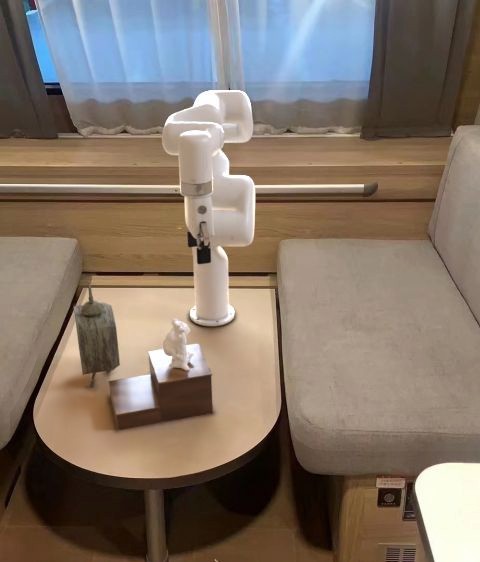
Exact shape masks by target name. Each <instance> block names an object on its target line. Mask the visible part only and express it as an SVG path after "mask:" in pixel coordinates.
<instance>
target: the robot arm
mask: <svg viewBox="0 0 480 562" xmlns="http://www.w3.org/2000/svg"><path fill="white" fill-rule="evenodd" d="M161 133H162V134H161V144H162V148H163V149H164V151H165V152H166V153H167V154H169V155H170V156H178V170H179V171H178V172H179V191H180V192H179V193H180V196H182V197H184V221H185V225H186V230H187V231H186V234H187V235H186V236H187V247H188V248H191V251H192V261H193V262H192V264H193V286H194V288H193V289H194V290H193V291H194V306H193V307H192V308H191V309H190V311H189V317H190V319H191V321H192V322H193V323H195V324H198V325H200V326H204V327H219V326H223V325H226V324H229V323H230V322H231V321H233V320H234V318H235V309H234V307H232V306H231V305H230V293H229V291H230V286H229V285H230V284H229V283H230V281H229V259H228V256H227V253H226V252H225V250H224V249H223V248H222V247H237V248H238V247H248V246H249V245H251V244H252V242H253V241H254V236H255V223H256V222H255V221H256V218H255V217H256V187H255V182H254V181H253V179H252V178H251V177H250V176H248V175H243V174H242V175H241V174H230V161H229V159H228V158H229V157H227V156H226V154H225V153H224V152H223V151H222V149H223V147H224V145H225V144H230V143H231V144H242V143H243V144H244V143H247V142H250V140H251V138H252V136H253V133H254V119H253V111H252V105H251V101H250V98H249V96H248V95H247V94H246V92H244V91H241V90H208V91H204V92H202V93H200V94H199V95H198V96H197V98H196V99H195V101H194V104H193V105H192V106H190V107H188V108H185V109H183V110H180V111H177V112H175V113H173V114H171V115H170V116H168V118H167V120H166V121H165V124H164V126H163V129H162V132H161Z"/></svg>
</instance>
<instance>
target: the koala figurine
mask: <svg viewBox="0 0 480 562" xmlns="http://www.w3.org/2000/svg"><path fill="white" fill-rule="evenodd" d="M171 326H172V327H171V329H170V331H168V332H167V334H166V335H165V337H164V339H163V344H162V345H163V346H162V349H163V350H164V352H165V354H166V355H167V356H172V357H173V358H172V361H173V362H172V363H170V364H169V367H174V368H176V367H177V368H181V369H184V370H189V367H188V365H187V364H188V362H190V358H191V357H192V356H193V353H192V352H189V353H188V354H187V350H186V345H187V343H188V342H187V340H188V339H187V337H186V336H187V335H188V334H189V333H191V329H190V327H189V325H188V324H187V323H185V322H183V321H181V320H179V319H178V318H177V317H173V318H172V319H171Z"/></svg>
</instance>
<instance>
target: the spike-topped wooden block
mask: <svg viewBox="0 0 480 562" xmlns="http://www.w3.org/2000/svg"><path fill="white" fill-rule="evenodd" d="M87 289H88V301H86V302H85V303H84V304H79V305H73V310H74V321H75V328H76V336H77V344H78V350H79V351H78V352H79V358H80V365H81V372H82V376H84V375H90V374H91V380H90V381H88V383H87V385H88V387H89V388H94V387H95V385H96V383H95V381H94V380H95V377H96V376H97V374H99V373H105V372H106V373H107V374H109V373H110V374H111V372H113V371H114V370H116V369H117V368H118V367H119V366H120V365H121V361H120V351H119V341H118V340H119V339H118V333H117V331H118V330H117V324H116V319H115V315H114V311H113V307H112V305H111V304H109V303H106V302H99V301H97V300H94V296H93V290H92V285H91V283H89V282H87Z"/></svg>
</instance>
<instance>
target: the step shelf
mask: <svg viewBox="0 0 480 562" xmlns="http://www.w3.org/2000/svg"><path fill="white" fill-rule="evenodd" d="M186 350H187V354H188V353H189V352H192V353H193V356H192V357H191V358H190V362H188V364H187V365H188V367H189V370H184V369H181V368H177V367H176V368H174V367H169V364H170V363H172V362H173V361H172V358H173V357H172V356H167V355H166V354H165V352H164V350H163V348H161V349H160V348H159V349H154V350H148V351H147V354H148V361H149V362H148V363H149V374H143V375H137V376H130V377H125V378H118V379H113V380H108V388H109V389H108V390H109V398H110V400H111V406H112V410H113V414H114V419H115V424H116V429H117V431H120V430H126V429H131V428H136V427H142V426H147V425H149V426H150V425H154V424H160V423H164V422H171V421H175V420H182V419H187V418H193V417H198V416H205V415H209V414H213V413H214V412H213V411H214V408H213V407H214V406H213V382H212V381H213V379H212V376H213V373H212V370H211V369H210V366H209V364H208V362H207V359H206V357H205V355H204V353H203V351H202V349H201V345H200V344H199V343H191V344H186Z"/></svg>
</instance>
